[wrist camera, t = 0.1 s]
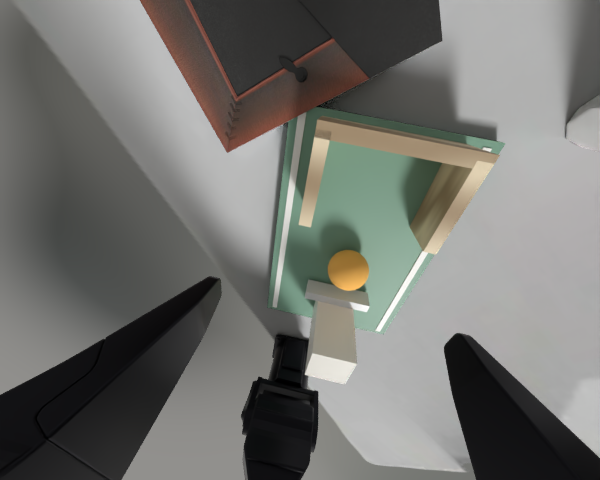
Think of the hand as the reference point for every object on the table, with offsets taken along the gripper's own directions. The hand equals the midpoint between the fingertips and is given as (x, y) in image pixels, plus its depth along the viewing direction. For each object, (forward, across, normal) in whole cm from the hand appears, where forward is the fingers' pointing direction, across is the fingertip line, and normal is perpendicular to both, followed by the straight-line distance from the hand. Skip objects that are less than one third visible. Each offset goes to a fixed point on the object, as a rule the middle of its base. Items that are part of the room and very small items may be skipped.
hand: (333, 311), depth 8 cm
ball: (+12, -3, +7) cm, 14 cm away
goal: (+14, -3, -2) cm, 14 cm away
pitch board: (+14, -3, +6) cm, 16 cm away
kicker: (+13, -3, +14) cm, 20 cm away
